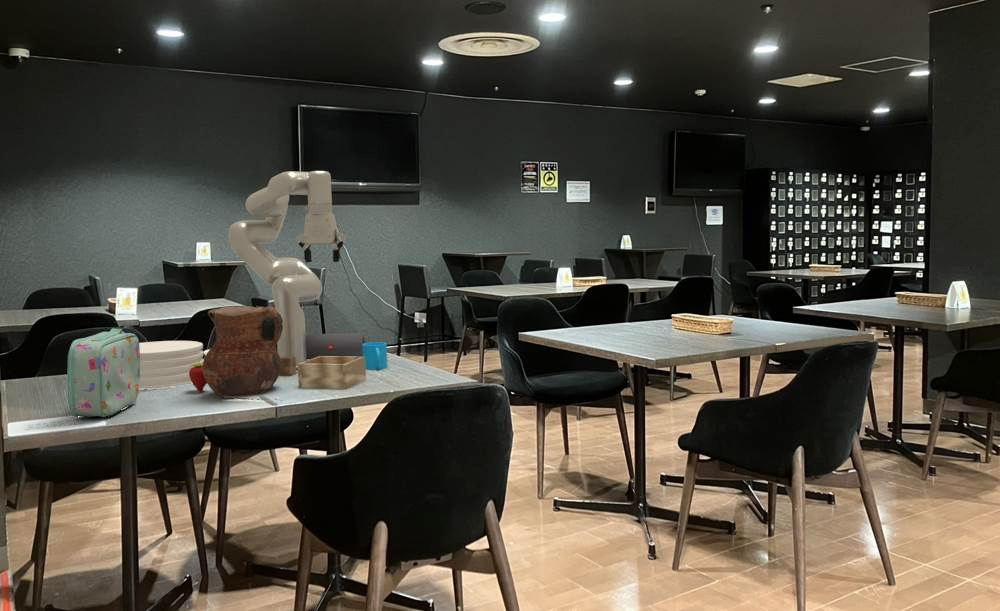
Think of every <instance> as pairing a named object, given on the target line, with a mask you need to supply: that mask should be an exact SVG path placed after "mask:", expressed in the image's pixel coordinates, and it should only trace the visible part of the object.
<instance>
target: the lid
mask: <svg viewBox="0 0 1000 611" xmlns="http://www.w3.org/2000/svg"><path fill="white" fill-rule="evenodd" d="M280 359H281V370H280V373H279V376H278V377H292V376H294V375H296V374H298V371H297V369H296V357H287V356H284V357H281V358H280Z"/></svg>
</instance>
